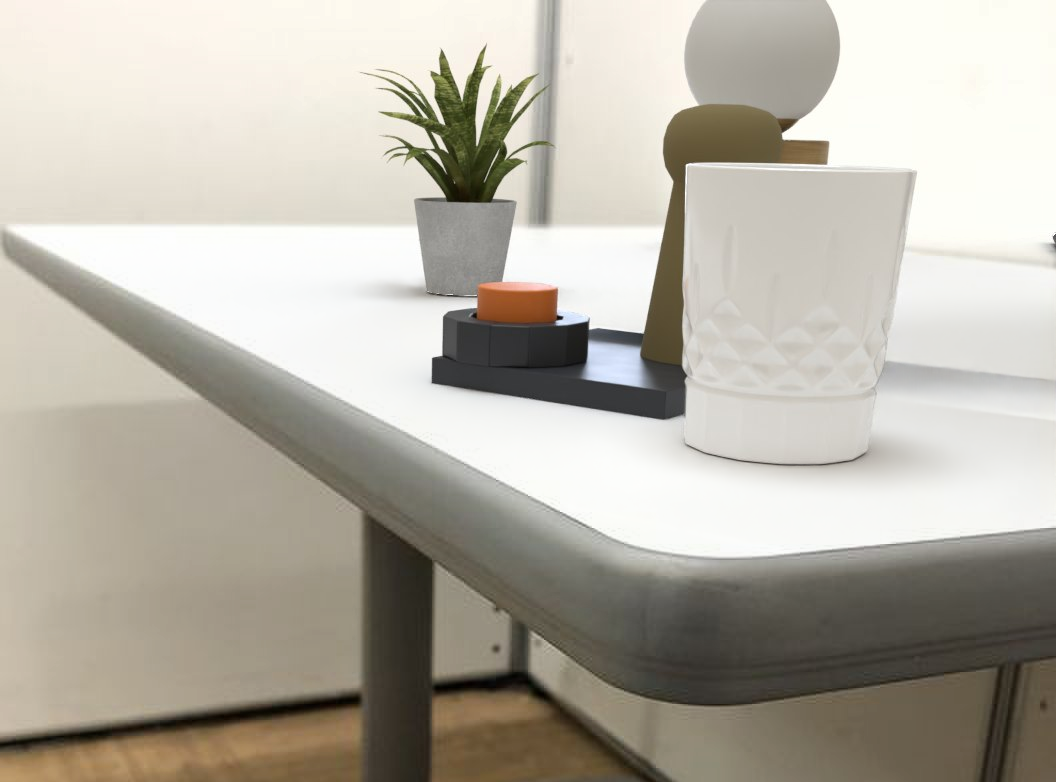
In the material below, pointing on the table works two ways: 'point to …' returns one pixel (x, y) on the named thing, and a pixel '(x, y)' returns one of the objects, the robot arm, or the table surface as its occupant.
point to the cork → (686, 140)
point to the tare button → (517, 302)
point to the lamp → (766, 61)
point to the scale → (558, 364)
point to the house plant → (463, 180)
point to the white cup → (788, 305)
